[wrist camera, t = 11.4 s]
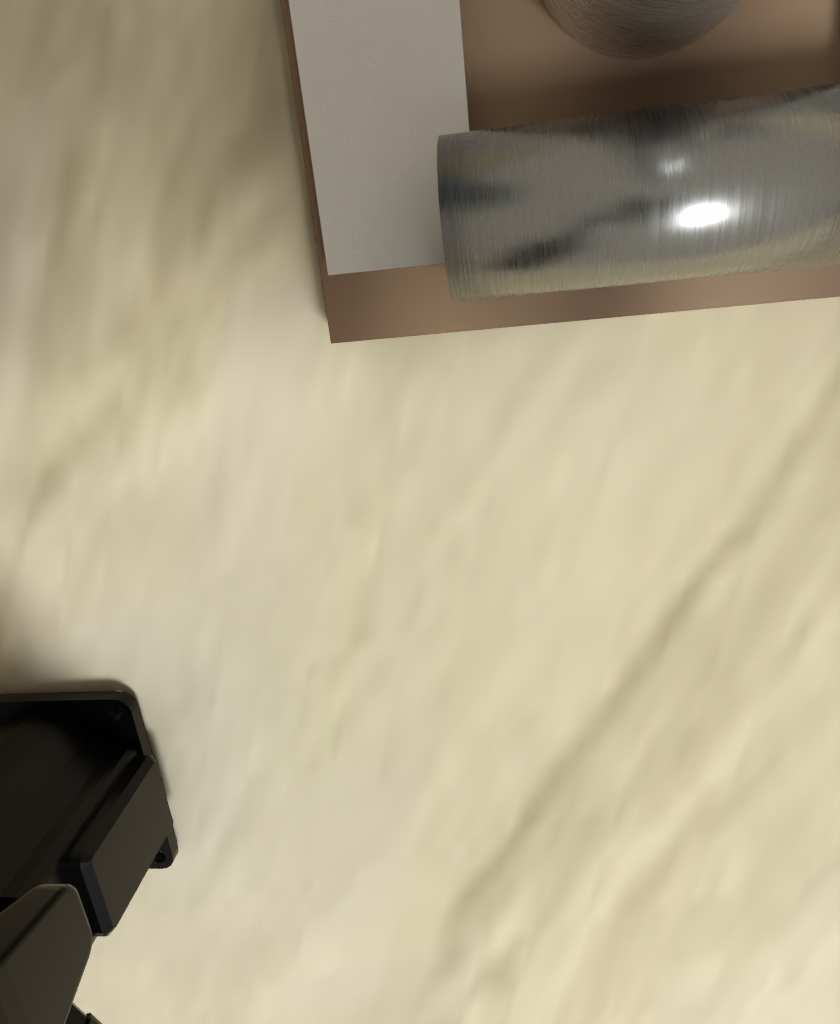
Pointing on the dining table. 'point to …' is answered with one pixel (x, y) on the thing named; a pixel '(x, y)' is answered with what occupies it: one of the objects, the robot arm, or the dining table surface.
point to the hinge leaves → (548, 169)
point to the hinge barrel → (638, 24)
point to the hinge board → (576, 93)
